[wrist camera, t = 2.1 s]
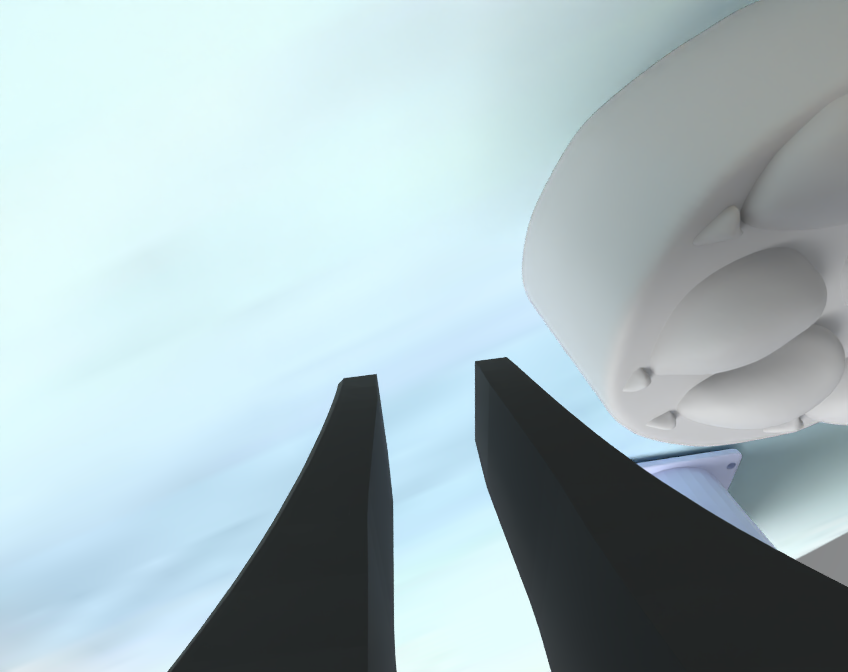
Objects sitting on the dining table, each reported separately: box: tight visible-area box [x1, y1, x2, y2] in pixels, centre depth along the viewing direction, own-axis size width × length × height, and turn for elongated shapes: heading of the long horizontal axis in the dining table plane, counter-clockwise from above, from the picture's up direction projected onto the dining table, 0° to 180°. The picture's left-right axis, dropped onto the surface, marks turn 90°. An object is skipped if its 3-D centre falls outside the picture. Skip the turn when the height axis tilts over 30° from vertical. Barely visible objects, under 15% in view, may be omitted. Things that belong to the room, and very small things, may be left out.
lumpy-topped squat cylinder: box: [522, 0, 848, 446], centre depth 14 cm, size 10×13×9 cm
